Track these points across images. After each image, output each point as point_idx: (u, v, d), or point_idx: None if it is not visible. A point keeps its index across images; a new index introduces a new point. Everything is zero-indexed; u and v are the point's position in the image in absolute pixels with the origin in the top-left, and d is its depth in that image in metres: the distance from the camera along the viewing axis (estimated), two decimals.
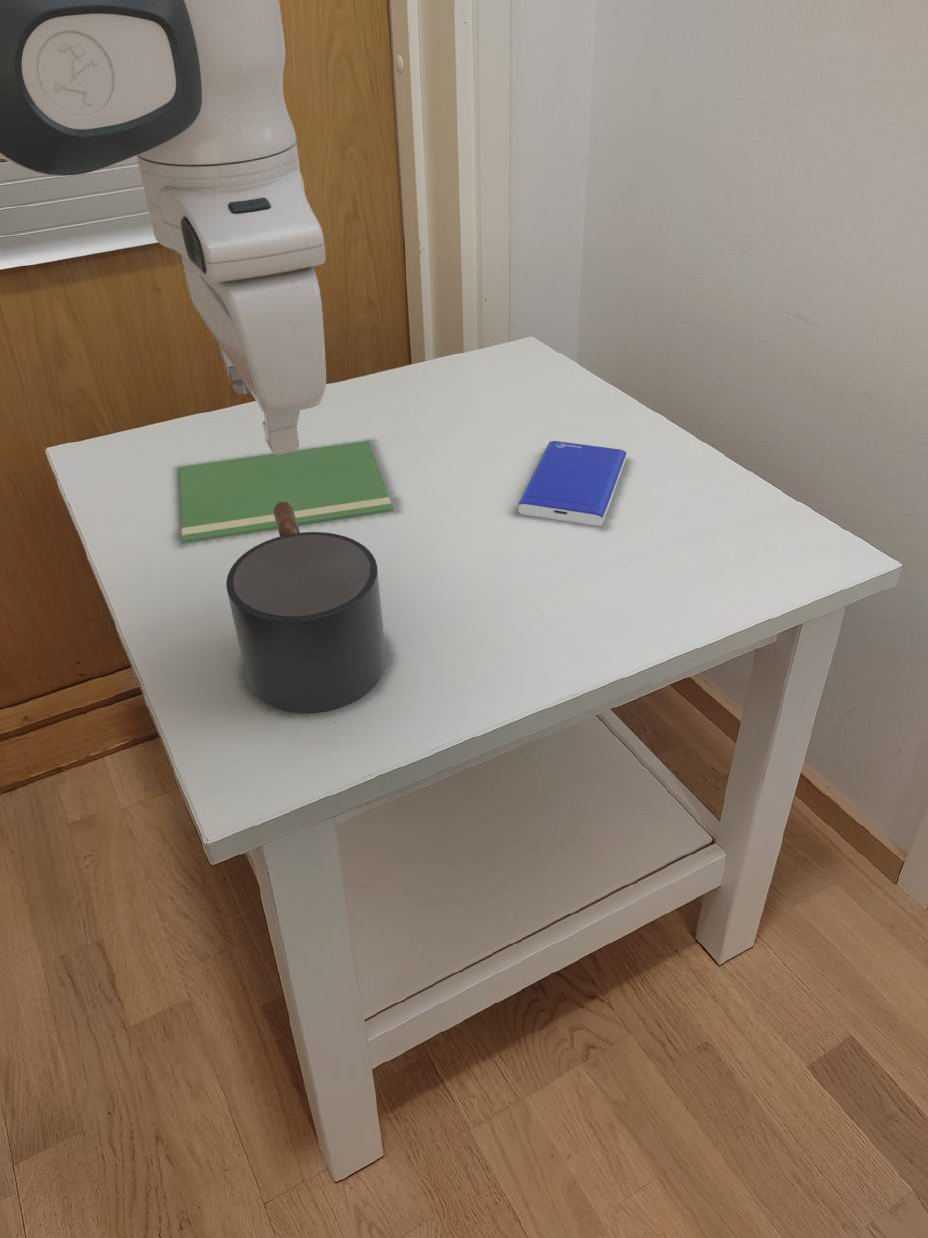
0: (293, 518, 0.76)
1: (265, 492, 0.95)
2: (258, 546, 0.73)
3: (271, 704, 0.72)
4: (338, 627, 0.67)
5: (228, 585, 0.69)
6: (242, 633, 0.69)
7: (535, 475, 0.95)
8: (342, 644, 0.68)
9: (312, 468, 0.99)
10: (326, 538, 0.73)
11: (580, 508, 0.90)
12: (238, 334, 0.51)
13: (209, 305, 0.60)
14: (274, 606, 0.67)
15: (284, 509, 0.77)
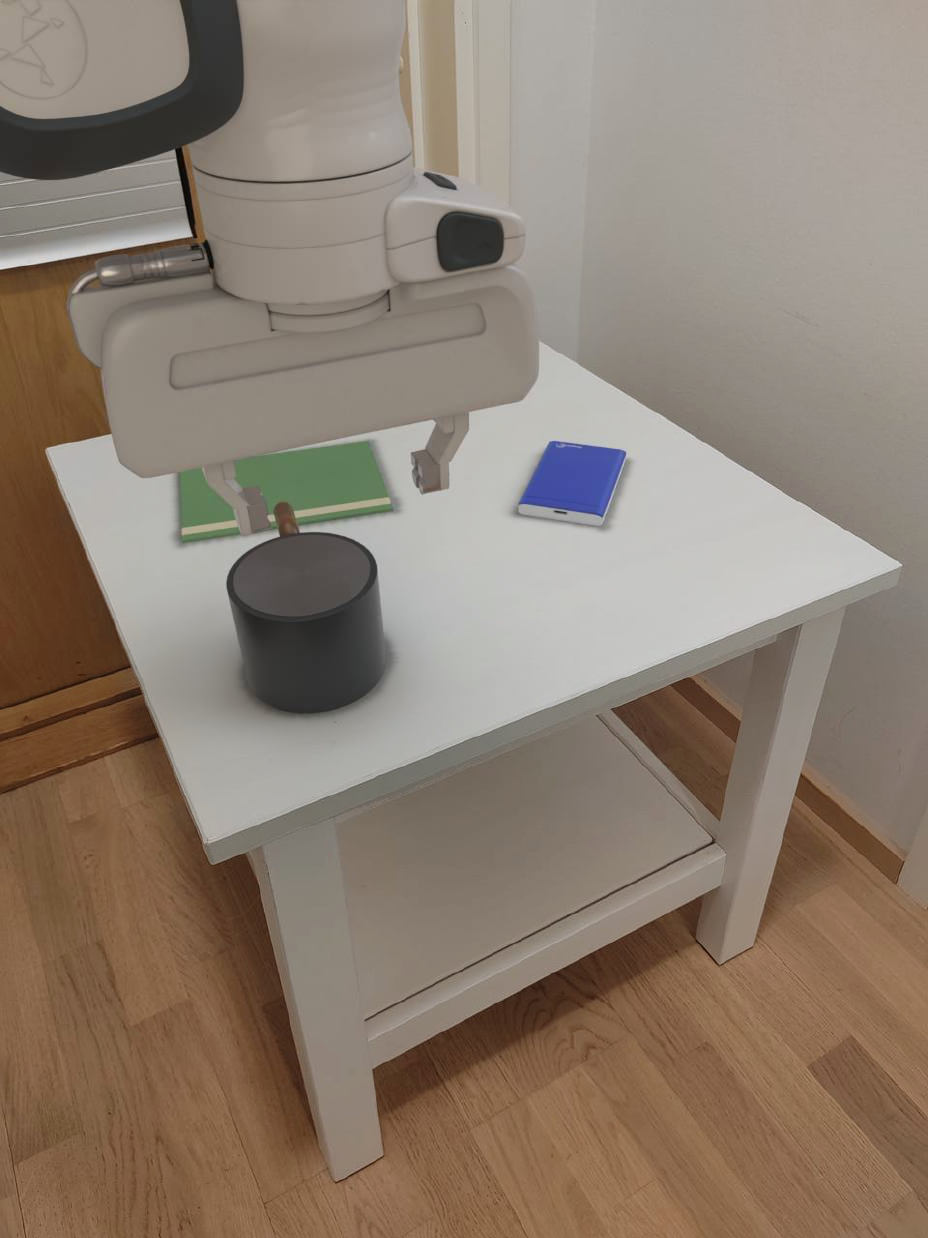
0: (293, 518, 0.76)
1: (265, 492, 0.95)
2: (258, 546, 0.73)
3: (271, 704, 0.72)
4: (338, 627, 0.67)
5: (228, 585, 0.69)
6: (242, 633, 0.69)
7: (535, 475, 0.95)
8: (342, 644, 0.68)
9: (312, 468, 0.99)
10: (326, 538, 0.73)
11: (580, 508, 0.90)
12: (526, 312, 0.44)
13: (298, 396, 0.42)
14: (274, 606, 0.67)
15: (284, 509, 0.77)
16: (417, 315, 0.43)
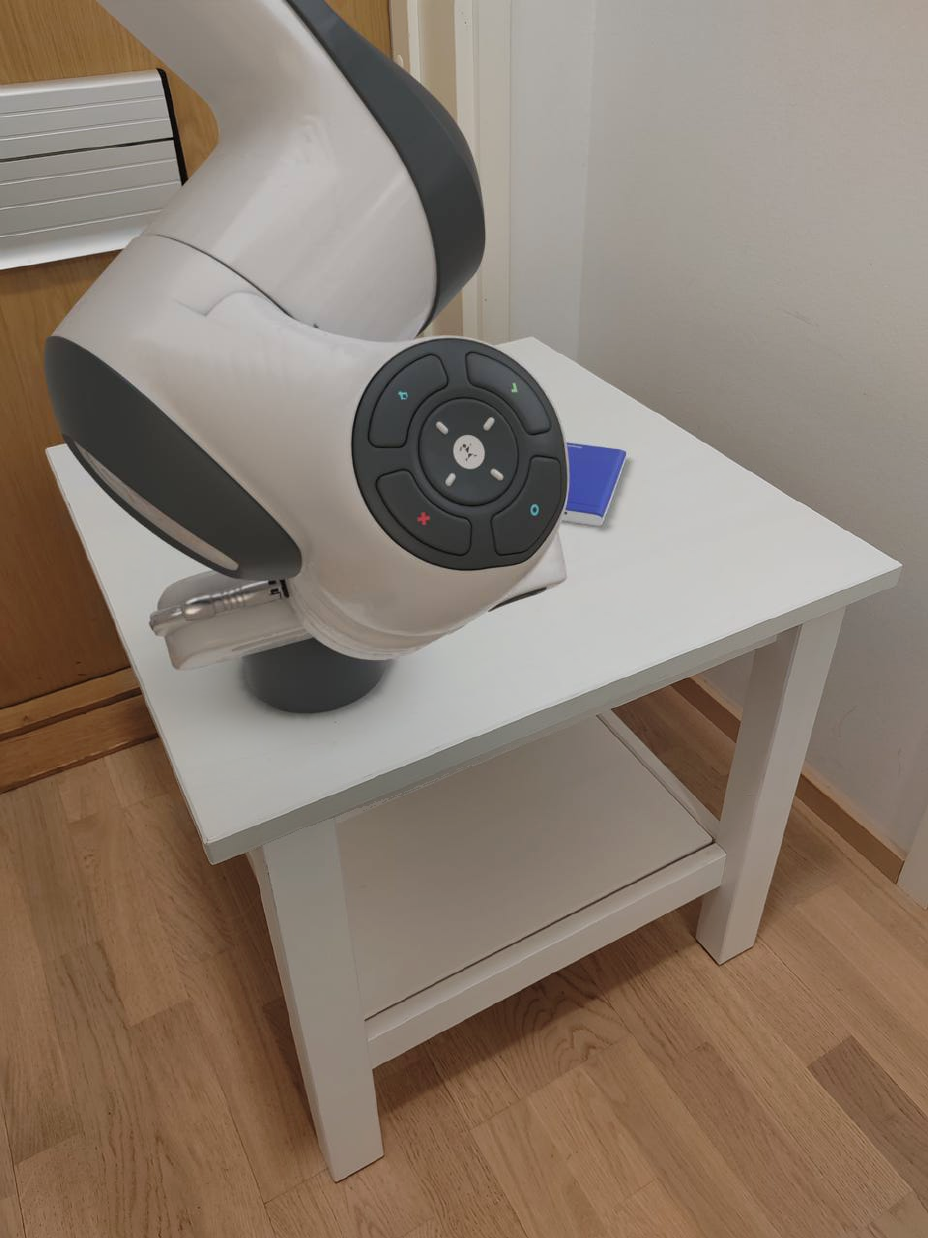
0: None
1: None
2: None
3: (271, 704, 0.72)
4: None
5: None
6: None
7: None
8: None
9: None
10: None
11: (580, 508, 0.90)
12: None
13: None
14: None
15: None
16: None
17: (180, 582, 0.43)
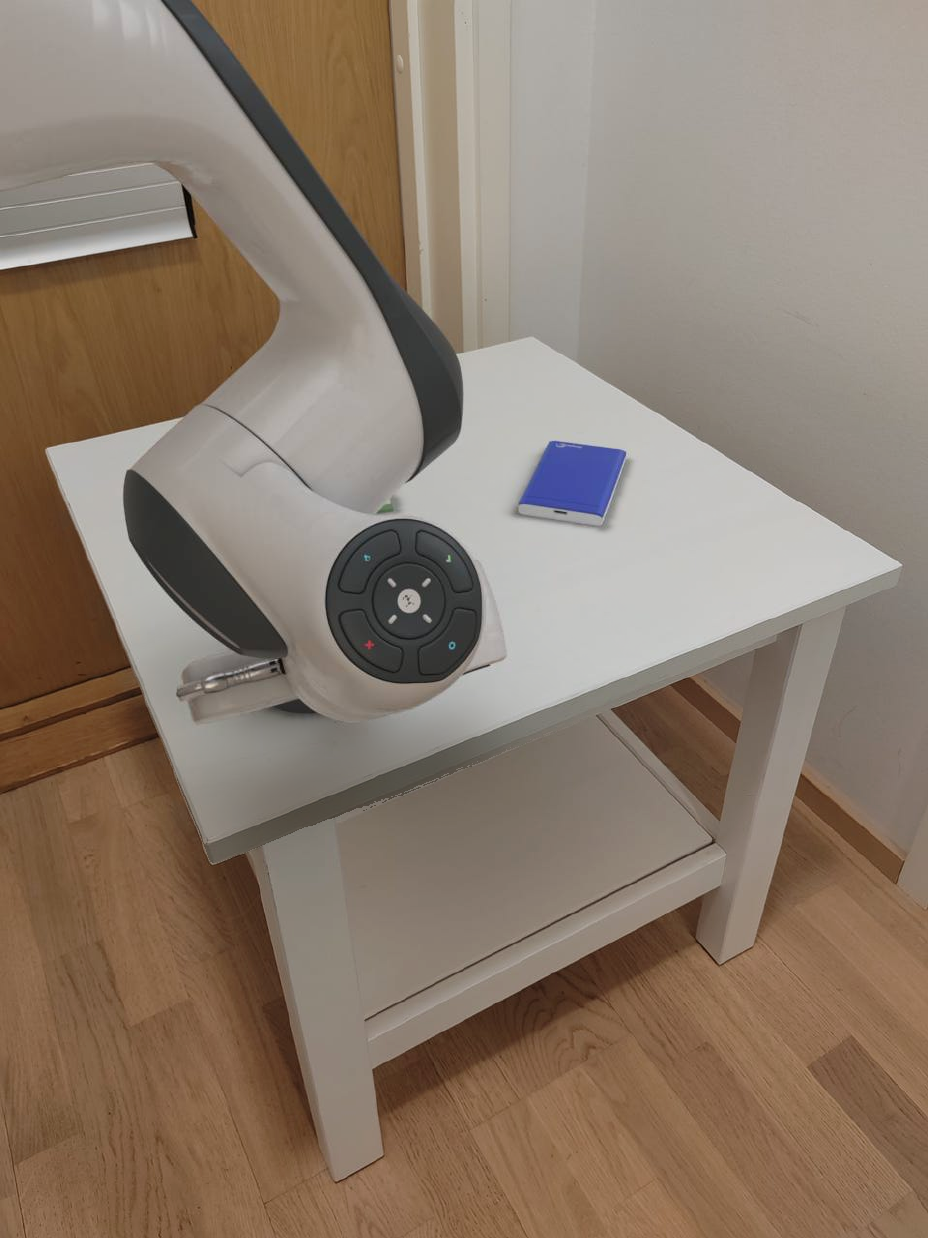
0: None
1: None
2: None
3: None
4: None
5: None
6: None
7: (535, 475, 0.95)
8: None
9: None
10: None
11: (580, 508, 0.90)
12: None
13: None
14: None
15: None
16: None
17: (200, 661, 0.55)
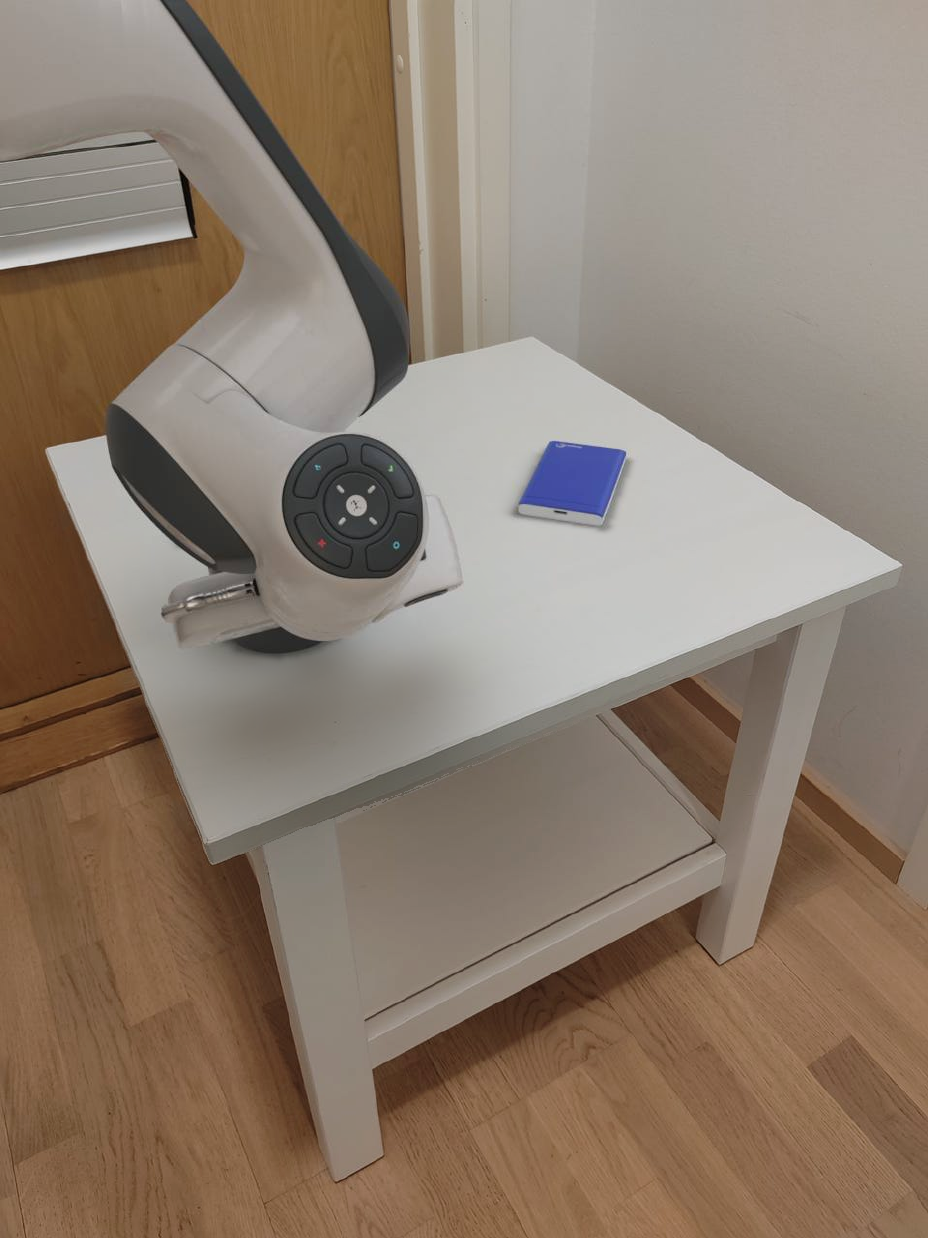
0: None
1: None
2: None
3: (253, 648, 0.77)
4: None
5: None
6: None
7: (535, 475, 0.95)
8: None
9: None
10: None
11: (580, 508, 0.90)
12: None
13: None
14: None
15: None
16: None
17: (183, 584, 0.60)
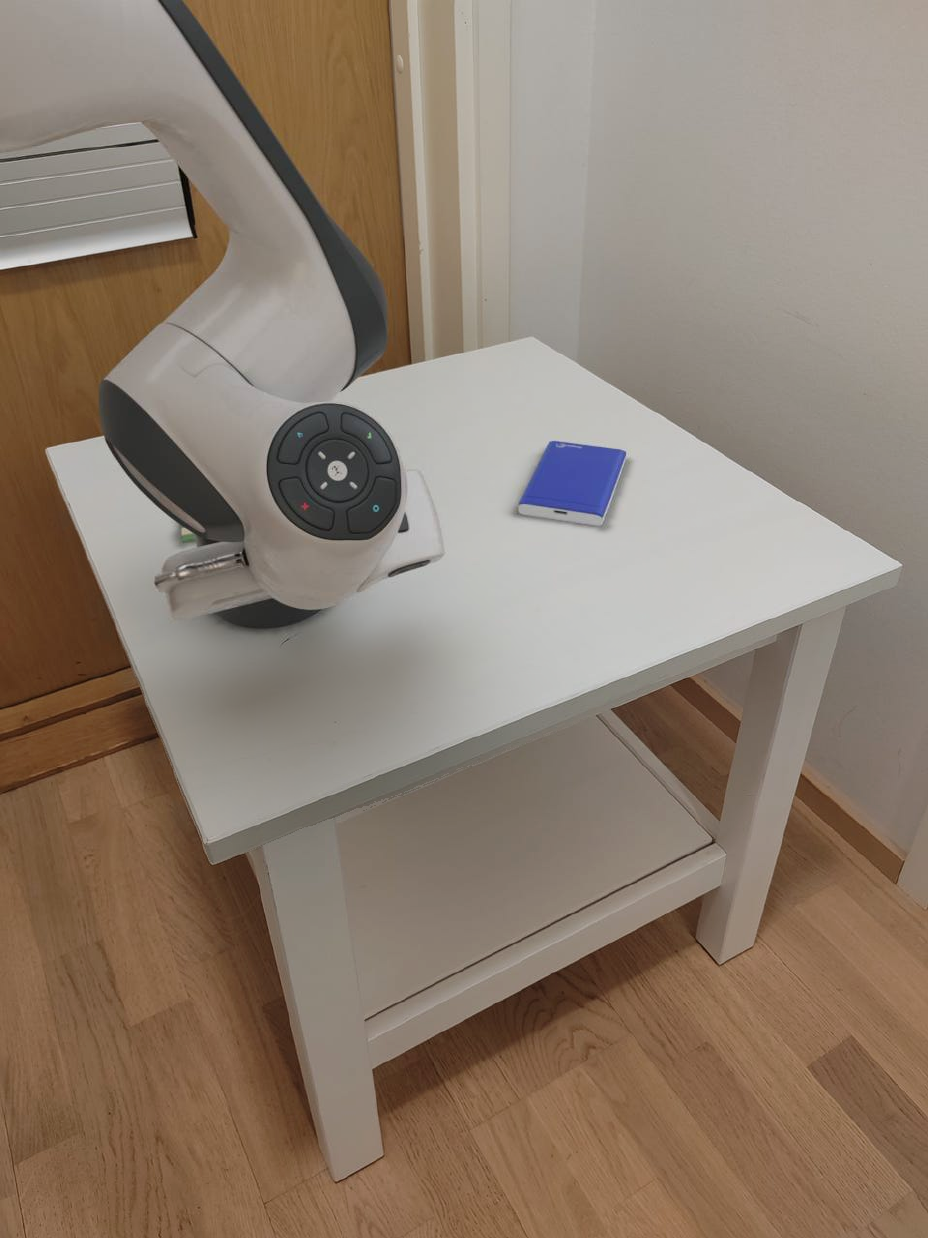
0: None
1: None
2: None
3: (245, 625, 0.79)
4: None
5: None
6: None
7: (535, 475, 0.95)
8: None
9: None
10: None
11: (580, 508, 0.90)
12: None
13: None
14: None
15: None
16: None
17: (175, 555, 0.63)
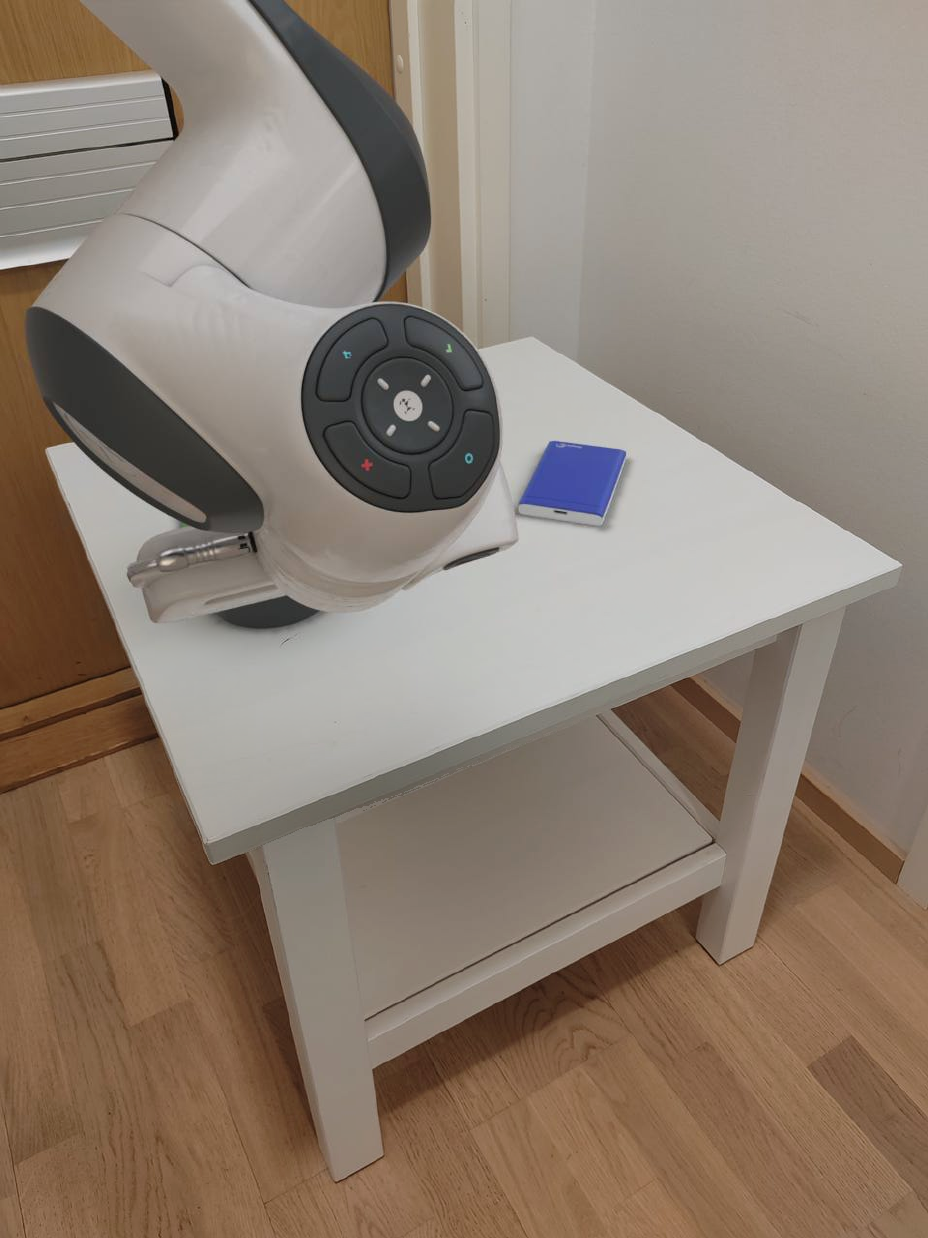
0: None
1: None
2: None
3: (244, 625, 0.79)
4: None
5: None
6: None
7: (535, 475, 0.95)
8: None
9: None
10: None
11: (580, 508, 0.90)
12: None
13: None
14: None
15: None
16: None
17: (156, 537, 0.46)
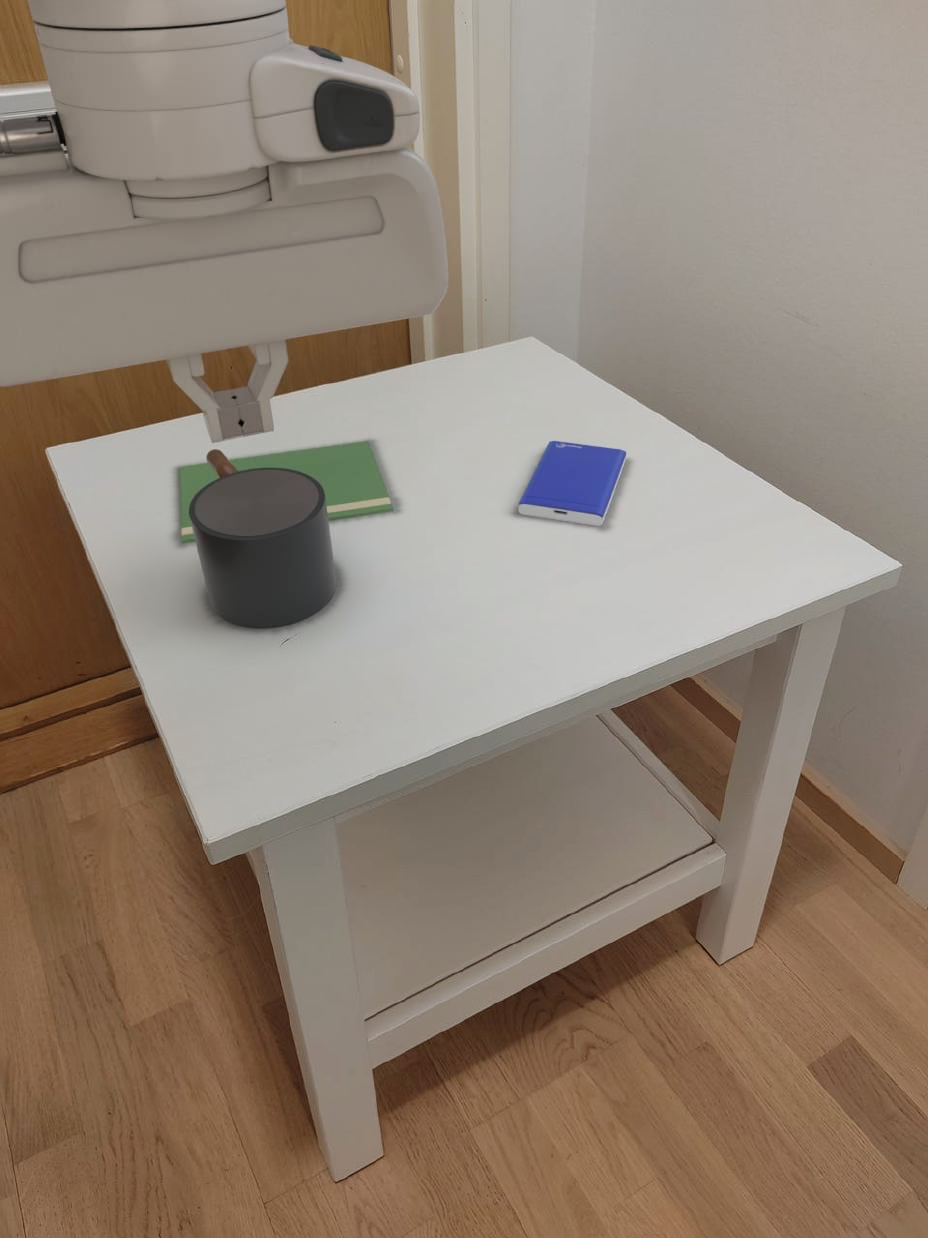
0: (229, 461, 0.84)
1: None
2: (207, 486, 0.80)
3: (244, 625, 0.79)
4: (303, 540, 0.76)
5: (193, 519, 0.76)
6: (213, 560, 0.76)
7: (535, 475, 0.95)
8: (306, 556, 0.77)
9: (312, 468, 0.99)
10: (268, 471, 0.81)
11: (580, 508, 0.90)
12: (428, 207, 0.39)
13: (172, 297, 0.38)
14: (243, 529, 0.74)
15: (218, 454, 0.84)
16: (304, 207, 0.38)
17: None
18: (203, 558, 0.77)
